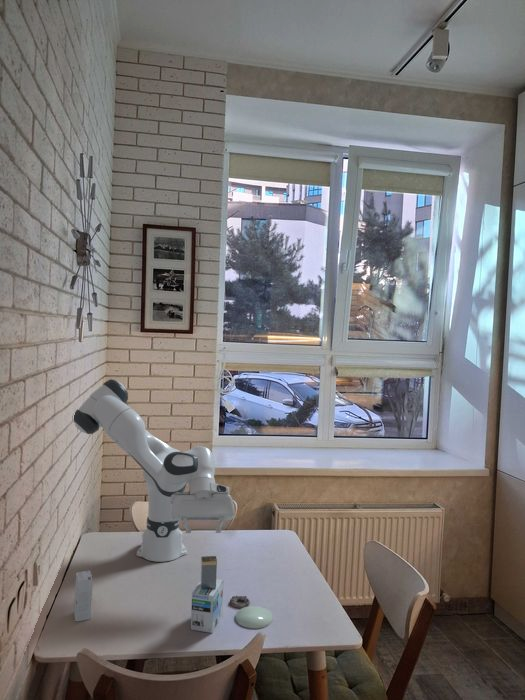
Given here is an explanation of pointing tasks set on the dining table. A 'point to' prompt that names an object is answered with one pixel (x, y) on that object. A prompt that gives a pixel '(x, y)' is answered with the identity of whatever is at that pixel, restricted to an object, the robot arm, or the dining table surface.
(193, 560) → the dining table surface
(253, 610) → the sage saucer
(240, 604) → the donut
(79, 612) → the skincare box
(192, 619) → the light bulb box
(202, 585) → the tea tin
